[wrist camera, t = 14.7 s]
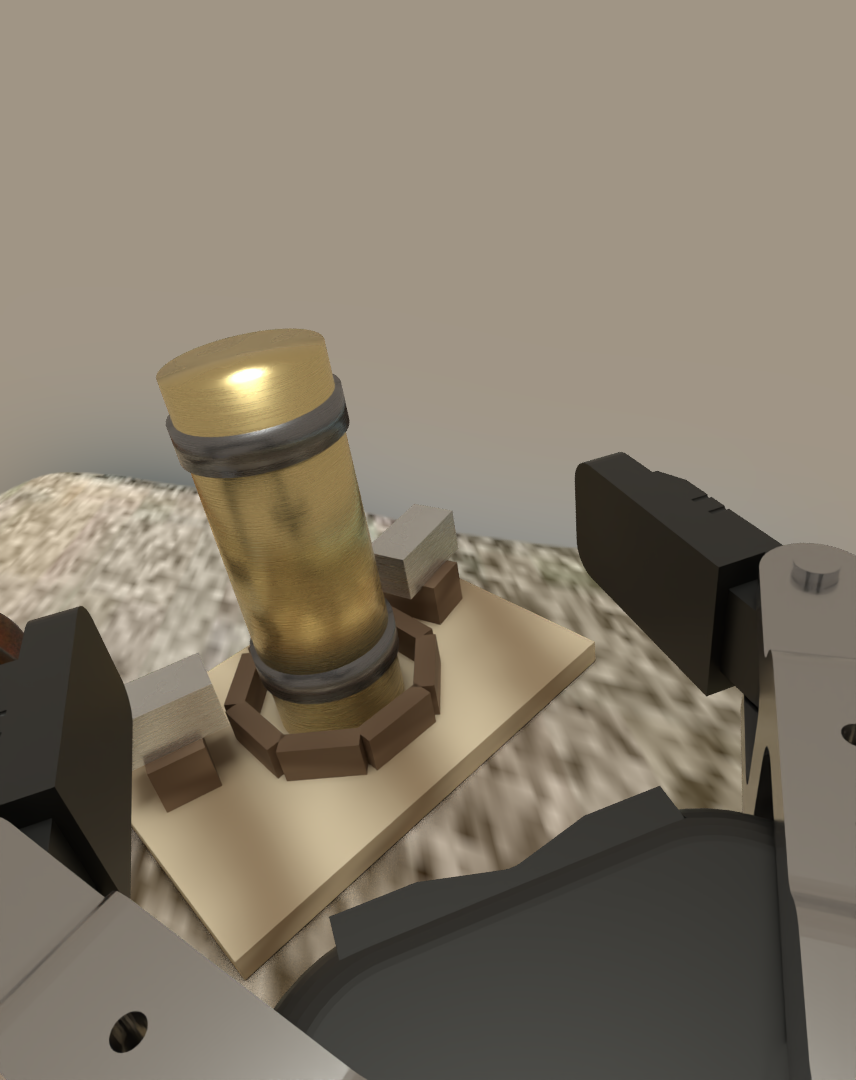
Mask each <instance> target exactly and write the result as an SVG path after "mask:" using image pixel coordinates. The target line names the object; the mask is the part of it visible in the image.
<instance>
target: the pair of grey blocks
mask: <svg viewBox="0 0 856 1080" xmlns="http://www.w3.org/2000/svg"><path fill="white" fill-rule="evenodd" d="M372 547H373V551H374V556H375V560H376V564H377V569H378V573H379V577H380V582H381V586H382V590H383V592H384V593H388V594H391V595H395V596H399V597H403V598H407V599H412V598H413V597H414V596H415V595H416V594H417V593H418V592H419V591H420V589H421V588H422V587H423V586H424V585H425V584H426V583H427V582H428V581H429V580H430V579H431V577H432V576H433V575H434V574H435V573H436V572H437V571H438V570H439V569H440V568H441V567H442V565H443V564H444V563H445V562H446V561H447V560H448V559H449V558H450V557H451V556H452V555H453V554H454V552H455V551H456V550H457V549H458V544H457V538H456V531H455V525H454V519H453V512H452V511H451V510H446V509H440V508H434V507H428V506H422V505H417V504H414V505H413V506H411V508H409V509H408V510H407V511H406V512H405V513H404V514H403V515H402V516H401V517H400V518H399V519H397V520H396V521H395V522H394V523H393V524H392V525H391V526H390V527H389V528H388V529H387V530H386V531H385V532H383V533H382V534H381V535H380V536H379V537H378V538H377V539H376V540H375V541H374V542H373V543H372ZM124 686H125V689H126V691H127V694H128V698H129V702H130V706H131V711H132V718H133V746H132V771H133V770H135V769H137V768H139V767H142V766H144V765H146V764H148V763H150V762H152V761H154V760H156V759H159V758H161V757H163V756H165V755H167V754H169V753H171V752H173V751H176V750H178V749H180V748H182V747H184V746H186V745H188V744H190V743H193V742H195V741H197V740H199V739H201V738H203V737H205V736H207V735H210V734H212V733H214V732H216V731H218V730H220V729H222V728H224V727H227V726H229V724H228V721H227V719H226V716H225V714H224V712H223V709H222V707H221V704H220V702H219V700H218V697H217V695H216V692H215V690H214V688H213V685H212V683H211V681H210V678H209V676H208V674H207V671H206V669H205V667H204V664H203V662H202V660H201V658H200V655H199V653H196V654H194V655H192V656H189V657H187V658H185V659H182V660H180V661H178V662H175V663H173V664H171V665H168V666H166V667H164V668H161V669H159V670H157V671H154V672H152V673H150V674H147V675H145V676H143V677H140V678H138V679H136V680H133V681H131V682H129V683H126V684H124Z"/></svg>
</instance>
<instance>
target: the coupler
mask: <svg viewBox="0 0 856 1080" xmlns="http://www.w3.org/2000/svg"><path fill="white" fill-rule="evenodd" d="M156 379H157V382H158V385H159V388H160V390H161V393H162V396H163V399H164V401H165V404H166V407H167V409H168V412H169V416H168V417H167V420H166V427H167V430H168V432H169V435H170V438H171V440H172V443H173V446H174V448H175V451H176V454H177V456H178V459H179V462H180V464H181V466H182V467H183V468H184V469H185V470H186V471H188V472H190V473H191V475H192V478H193V480H194V483H195V486H196V489H197V491H198V494H199V497H200V500H201V502H202V505H203V508H204V511H205V513H206V516H207V519H208V521H209V524H210V527H211V530H212V532H213V535H214V538H215V541H216V543H217V546H218V549H219V551H220V554H221V557H222V560H223V562H224V565H225V568H226V571H227V573H228V576H229V579H230V582H231V584H232V587H233V590H234V592H235V595H236V598H237V601H238V603H239V606H240V609H241V612H242V614H243V617H244V620H245V622H246V625H247V628H248V631H249V633H250V636H251V640H250V652H251V655H252V658H253V661H254V663H255V666H256V669H257V672H258V674H259V677H260V679H261V682H262V684H263V685H264V687H265V688H266V689H267V690H268V691H269V692H270V693H271V694H272V696H273V699H274V702H275V704H276V707H277V710H278V713H279V715H280V718H281V721H282V723H283V726H284V727H285V729H286V731H287V732H288V733H289V734H294V733H306V732H317V731H328V730H339V729H350V728H358V727H359V726H361V725H362V724H363V723H364V722H366V721H367V720H368V719H370V718H371V717H372V716H373V715H375V714H376V713H377V712H379V711H380V710H381V709H383V708H384V707H385V706H386V705H388V704H389V703H390V702H392V701H393V700H394V699H395V698H397V697H398V696H399V695H401V694H402V693H403V692H404V691H405V685H404V681H403V676H402V672H401V668H400V663H399V659H398V655H397V653H398V649H399V636H398V632H397V627H396V623H395V618H394V614H393V610H392V607H391V605H390V603H389V602H388V600H387V599H386V598H385V597H384V594H383V590H382V586H381V582H380V577H379V573H378V569H377V564H376V560H375V556H374V551H373V547H372V543H371V538H370V534H369V530H368V526H367V521H366V517H365V513H364V509H363V504H362V500H361V495H360V491H359V487H358V482H357V478H356V474H355V470H354V465H353V461H352V457H351V452H350V448H349V444H348V439H347V435H346V431H347V429H348V426H349V416H348V412H347V407H346V403H345V398H344V394H343V389H342V385H341V381H340V379H339V378H338V377H337V376H336V375H334V374H332V371H331V366H330V362H329V358H328V353H327V349H326V345H325V341H324V338H323V336H322V335H321V334H319V333H317V332H315V331H311V330H305V329H275V330H265V331H258V332H252V333H247V334H242V335H237V336H233V337H229V338H225V339H222V340H219V341H215V342H212V343H209V344H206V345H203V346H200V347H198V348H195V349H193V350H191V351H188V352H186V353H184V354H182V355H180V356H178V357H176V358H175V359H173V360H171V361H170V362H168V363H167V364H165V365H164V366H163V367H162V368H161V369H160V370H159V372H158V373H157V376H156Z"/></svg>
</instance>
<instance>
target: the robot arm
mask: <svg viewBox="0 0 856 1080" xmlns="http://www.w3.org/2000/svg"><path fill="white" fill-rule="evenodd" d="M575 500H576V531H577V547H578V552H579V555H580V558H581V561H582V563H583V566H584V568H585V569H586V571H587V573H588V574H589V575H590V576H591V578H592V579H593V580H594V581H595V582H596V583H597V584H598V585H599V586H600V587H601V588H602V589H603V590H604V591H605V592H606V593H607V594H608V595H609V596H610V597H611V598H612V599H613V600H614V601H615V602H616V603H617V604H618V606H619V607H620V608H621V609H622V610H623V611H624V612H625V613H626V614H627V615H628V616H629V617H630V618H631V619H632V620H633V621H634V622H635V623H636V624H637V625H638V626H639V627H640V628H641V629H642V630H643V631H644V632H645V633H646V634H647V635H648V636H649V638H650V639H651V640H652V641H653V642H654V643H655V644H656V645H657V646H658V647H659V648H660V649H661V650H662V651H663V652H664V653H665V654H666V655H667V656H668V657H669V658H670V659H671V660H672V661H673V662H674V663H675V664H676V665H677V666H678V667H679V669H680V670H681V671H682V672H683V673H684V674H685V675H686V676H687V677H688V678H689V679H690V680H691V681H692V682H693V683H694V684H695V685H696V686H697V687H698V688H699V689H700V690H701V691H702V692H703V693H704V694H705V695H706V696H709V695H712V694H714V693H717V692H720V691H722V690H725V689H728V688H730V687H733V686H736V687H737V688H738V689H739V690H740V691H741V692H742V693H743V695H742V702H741V761H742V813H740V812H735V811H730V810H720V809H708V808H700V809H680V810H678V809H677V807H676V806H675V805H674V804H673V802H672V801H671V800H670V798H669V797H668V796H667V795H666V793H665V792H664V791H663V789H662V788H661V787H660V786H658V787H656V788H653V789H651V790H648V791H646V792H643V793H640V794H638V795H635V796H633V797H630V798H628V799H625V800H623V801H620V802H618V803H615V804H613V805H610V806H608V807H605V808H603V809H600V810H598V811H595V812H593V813H590V814H588V815H585V816H583V817H582V818H581V819H579V820H578V821H577V822H575V823H574V824H573V825H571V826H570V827H569V828H567V829H566V830H564V831H563V832H562V833H560V834H559V835H558V836H556V837H555V838H554V839H552V840H551V841H550V842H548V843H547V844H546V845H544V846H543V847H541V848H540V849H539V850H537V851H536V852H535V853H533V854H532V855H531V856H529V857H528V858H527V859H525V860H524V861H523V862H521V863H520V864H518V865H516V866H515V867H512V868H510V869H506V870H500V871H493V872H486V873H479V874H472V875H465V876H458V877H451V878H443V879H436V880H429V881H422V882H416V883H414V884H411V885H408V886H406V887H403V888H401V889H398V890H396V891H393V892H391V893H388V894H386V895H383V896H381V897H378V898H376V899H373V900H371V901H368V902H366V903H363V904H361V905H358V906H356V907H353V908H351V909H348V910H345V911H343V912H340V913H338V914H335V915H333V916H330V917H329V918H330V922H331V927H332V931H333V935H334V940H335V944H336V947H334V948H333V949H332V950H330V951H329V952H328V953H326V954H325V955H323V956H322V957H321V958H320V959H319V960H317V961H316V962H315V963H314V964H313V965H312V966H311V967H310V968H309V969H308V970H306V971H305V972H304V973H303V974H302V975H301V976H300V977H299V978H298V980H297V981H296V982H295V983H294V984H293V985H292V986H291V987H290V988H289V990H288V991H287V992H286V993H285V994H284V995H283V997H282V998H281V999H280V1001H279V1002H278V1003H277V1005H276V1006H275V1008H274V1009H272V1008H271V1007H270V1006H268V1005H267V1004H266V1003H265V1002H263V1001H262V1000H261V999H259V998H258V997H257V996H255V995H254V994H253V993H252V992H250V991H249V990H248V989H246V988H245V987H244V986H242V985H241V984H240V983H239V982H237V981H236V980H235V979H233V978H232V977H231V976H229V975H228V974H227V973H226V972H224V971H223V970H222V969H220V968H219V967H218V966H216V965H215V964H214V963H213V962H211V961H210V960H209V959H207V958H206V957H205V956H203V955H202V954H201V953H200V952H198V951H197V950H196V949H194V948H193V947H192V946H190V945H189V944H188V943H187V942H185V941H184V940H183V939H181V938H180V937H179V936H177V935H176V934H175V933H174V932H172V931H171V930H170V929H168V928H167V927H166V926H164V925H163V924H162V923H161V922H159V921H158V920H157V919H155V918H154V917H153V916H151V915H150V914H149V913H148V912H146V911H145V910H144V909H142V908H141V907H140V906H138V905H137V904H136V903H135V902H133V901H132V900H131V899H130V883H131V814H132V746H133V718H132V711H131V706H130V702H129V698H128V694H127V691H126V689H125V686H124V684H123V681H122V679H121V677H120V675H119V673H118V671H117V669H116V667H115V665H114V663H113V661H112V659H111V656H110V654H109V652H108V650H107V648H106V646H105V644H104V642H103V640H102V638H101V636H100V634H99V632H98V630H97V628H96V625H95V623H94V621H93V619H92V617H91V616H90V614H89V612H88V611H87V610H86V609H85V608H84V607H83V606H79V607H76V608H73V609H69V610H66V611H62V612H59V613H55V614H52V615H48V616H45V617H41V618H38V619H34V620H31V621H29V622H28V623H27V624H26V627H25V631H24V636H23V640H22V644H21V649H20V653H19V658H18V660H15V661H12V662H8V663H5V664H2V665H0V1073H1V1074H2V1075H3V1077H4V1078H5V1079H6V1080H856V556H855V555H853V554H851V553H849V552H847V551H844V550H842V549H839V548H836V547H832V546H828V545H822V544H814V543H796V544H788V545H782V544H780V543H779V542H777V541H776V540H774V539H773V538H771V537H770V536H768V535H767V534H766V533H764V532H763V531H761V530H759V529H758V528H757V527H755V526H754V525H752V524H751V523H749V522H748V521H746V520H744V519H743V518H742V517H740V516H738V515H737V514H736V513H734V512H733V511H731V510H730V509H727V510H726V509H725V506H724V505H722V504H721V503H720V502H718V501H717V500H715V499H714V498H712V497H710V498H708V496H707V494H706V493H705V492H703V491H701V490H700V489H699V488H697V487H696V486H694V485H693V484H691V483H690V482H688V481H687V480H684V479H681V478H678V477H675V476H672V475H669V474H666V473H662V472H659V471H655V472H651V471H650V470H649V469H647V468H646V467H644V466H643V465H641V464H640V463H639V462H637V461H636V460H634V459H633V458H631V457H630V456H629V455H627V454H625V453H623V452H618V453H615V454H611V455H608V456H604V457H601V458H597V459H594V460H590V461H587V462H584V463H581V464H579V465H578V467H577V469H576V472H575Z"/></svg>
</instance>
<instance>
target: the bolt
mask: <svg viewBox="0 0 856 1080" xmlns="http://www.w3.org/2000/svg"><path fill="white" fill-rule="evenodd" d="M23 636H24V633H23V631H22V630H21V629H20V628H19V627H18V626H17V625H16V624H15V623H14V622H13V621H12V620H10V619H9V618H8V617H6V616H5V615H3V614H1V613H0V665H2V664H5V663H8V662H12V661H15V660H18V658H19V653H20V649H21V644H22V640H23Z"/></svg>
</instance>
